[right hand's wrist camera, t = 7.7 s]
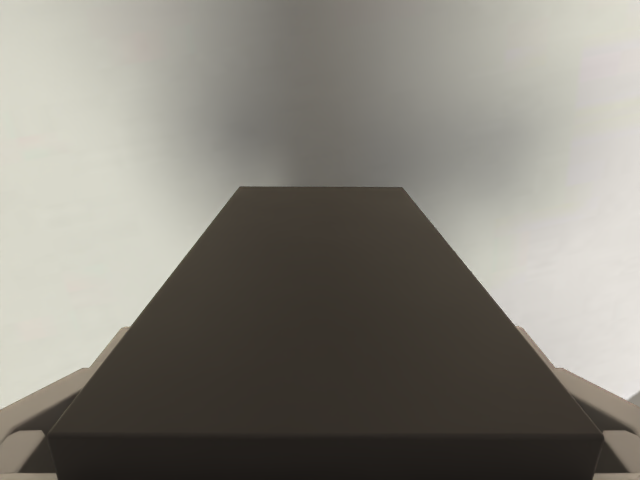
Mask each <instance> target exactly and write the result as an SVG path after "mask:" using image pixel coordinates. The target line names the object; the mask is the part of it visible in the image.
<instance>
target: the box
mask: <svg viewBox="0 0 640 480" xmlns="http://www.w3.org/2000/svg"><path fill="white" fill-rule="evenodd" d="M46 439H47V443H48V446H49V450H50V453H51V457H52V461H53V464H54V468H55V472H56V475H57V479H58V480H593V477H594V473H595V470H596V467H597V463H598V460H599V457H600V453H601V450H602V447H603V443H604V440H605V439H604V435H603V433H602V432H601V431H600V430H599V428H598V427H597V426H596V425H595V424H594V422H593V421H592V420H591V419H590V417H589V416H588V415H587V414H586V413H585V411H584V410H583V409H582V408H581V406H580V405H579V404H578V403H577V401H576V400H575V399H574V398H573V397H572V395H571V394H570V393H569V392H568V390H567V389H566V388H565V387H564V385H563V384H562V383H561V382H560V381H559V379H558V378H557V377H556V376H555V374H554V373H553V372H552V371H551V370H550V368H549V367H548V366H547V365H546V363H545V362H544V361H543V360H542V358H541V357H540V356H539V355H538V354H537V352H536V351H535V350H534V349H533V347H532V346H531V345H530V344H529V342H528V341H527V340H526V339H525V338H524V336H523V335H522V334H521V333H520V331H519V330H518V329H517V328H516V327H515V325H514V324H513V323H512V322H511V320H510V319H509V318H508V317H507V315H506V314H505V313H504V312H503V311H502V309H501V308H500V307H499V306H498V304H497V303H496V302H495V301H494V299H493V298H492V297H491V296H490V295H489V293H488V292H487V291H486V290H485V288H484V287H483V286H482V285H481V284H480V282H479V281H478V280H477V279H476V277H475V276H474V275H473V274H472V272H471V271H470V270H469V269H468V268H467V266H466V265H465V264H464V263H463V261H462V260H461V259H460V258H459V256H458V255H457V254H456V253H455V252H454V250H453V249H452V248H451V247H450V245H449V244H448V243H447V242H446V241H445V239H444V238H443V237H442V236H441V234H440V233H439V232H438V231H437V229H436V228H435V227H434V226H433V225H432V223H431V222H430V221H429V220H428V218H427V217H426V216H425V215H424V213H423V212H422V211H421V210H420V209H419V207H418V206H417V205H416V204H415V202H414V201H413V200H412V199H411V198H410V196H409V195H408V194H407V193H406V191H405V190H404V189H403V188H402V187H239V188H238V189H237V191H236V192H235V193H234V195H233V196H232V197H231V198H230V200H229V201H228V202H227V204H226V205H225V206H224V207H223V209H222V210H221V211H220V213H219V214H218V215H217V216H216V218H215V219H214V220H213V222H212V223H211V224H210V225H209V227H208V228H207V229H206V231H205V232H204V233H203V234H202V236H201V237H200V238H199V240H198V241H197V242H196V243H195V245H194V246H193V247H192V248H191V250H190V251H189V252H188V254H187V255H186V256H185V257H184V259H183V260H182V261H181V263H180V264H179V265H178V266H177V268H176V269H175V270H174V272H173V273H172V274H171V275H170V277H169V278H168V279H167V281H166V282H165V283H164V284H163V286H162V287H161V288H160V290H159V291H158V292H157V293H156V295H155V296H154V297H153V299H152V300H151V301H150V302H149V304H148V305H147V306H146V308H145V309H144V310H143V311H142V313H141V314H140V315H139V317H138V318H137V319H136V320H135V322H134V323H133V324H132V325H131V327H130V328H129V329H128V331H127V332H126V333H125V334H124V336H123V337H122V338H121V340H120V341H119V342H118V343H117V345H116V346H115V347H114V349H113V350H112V351H111V352H110V354H109V355H108V356H107V358H106V359H105V360H104V361H103V363H102V364H101V365H100V367H99V368H98V369H97V370H96V372H95V373H94V374H93V376H92V377H91V378H90V379H89V381H88V382H87V383H86V385H85V386H84V387H83V388H82V390H81V391H80V392H79V393H78V395H77V396H76V397H75V399H74V400H73V401H72V402H71V404H70V405H69V406H68V408H67V409H66V410H65V411H64V413H63V414H62V415H61V417H60V418H59V419H58V420H57V422H56V423H55V424H54V426H53V427H52V428H51V429H50V431H49V432H48V434H47V438H46Z"/></svg>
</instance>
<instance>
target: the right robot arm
mask: <svg viewBox="0 0 640 480" xmlns="http://www.w3.org/2000/svg"><path fill="white" fill-rule="evenodd" d="M515 327H516V328H517V329H518V330H519V331H520V333H521V334H522V335H523V336H524V338H525V339H526V340H527V341H528V342H529V344H530V345H531V346H532V347H533V349H534V350H535V351H536V352H537V354H538V355H539V356H540V357H541V358H542V360H543V361H544V362H545V363H546V365H547V366H548V367H549V368H550V370H551V371H552V372H553V373H554V374H555V376H556V377H557V378H558V379H559V381H560V382H561V383H562V384H563V385H564V387H565V388H566V389H567V390H568V392H569V393H570V394H571V395H572V397H573V398H574V399H575V400H576V401H577V403H578V404H579V405H580V406H581V408H582V409H583V410H584V411H585V413H586V414H587V415H588V416H589V417H590V419H591V420H592V421H593V422H594V424H595V425H596V426H597V427H598V428H599V430H600V431H601V432H602V433H603V435H604V439H605V440H604V443H603V447H602V450H601V453H600V457H599V460H598V463H597V467H596V470H595V473H594V477H593V480H640V407H638V406H637V405H635V404H632V403H630V402H629V401H627V400H625V399H623V398H621V397H619V396H617V395H615V394H613V393H611V392H609V391H607V390H605V389H603V388H601V387H599V386H597V385H595V384H593V383H591V382H589V381H587V380H585V379H583V378H581V377H579V376H577V375H575V374H573V373H571V372H569V371H567V370H565V369H563V368H555V367H554V366H553V364H552V363H551V362H550V361H549V359H548V358H547V357H546V356H545V355H544V353H543V352H542V351H541V350H540V348H539V347H538V346H537V345H536V344H535V342H534V341H533V340H532V339H531V338H530V336H529V335H528V334H527V333H526V331H525V330H524V329H523V328H521V327H519V326H515ZM129 328H130V327H123V328H121V329H120V330H119V331H118V333H117V334H116V335H115V336H114V338H113V339H112V340H111V341H110V343H109V344H108V345H107V346H106V348H105V349H104V350H103V351H102V353H101V354H100V355H99V356H98V358H97V359H96V360H95V361H94V363H93V364H92V365H91V366H90V368H81V369H80V370H78V371H76V372H74V373H72V374H70V375H68V376H66V377H64V378H62V379H60V380H58V381H56V382H54V383H52V384H50V385H48V386H46V387H44V388H42V389H40V390H38V391H36V392H34V393H32V394H30V395H28V396H26V397H24V398H22V399H21V400H19V401H17V402H15V403H13V404H11V405H9V406H7V407H5V408H3V409H1V410H0V480H58V479H57V475H56V472H55V468H54V464H53V461H52V457H51V453H50V450H49V446H48V443H47V439H46V438H47V434H48V432H49V431H50V429H51V428H52V427H53V426H54V424H55V423H56V422H57V420H58V419H59V418H60V417H61V415H62V414H63V413H64V411H65V410H66V409H67V408H68V406H69V405H70V404H71V402H72V401H73V400H74V399H75V397H76V396H77V395H78V393H79V392H80V391H81V390H82V388H83V387H84V386H85V385H86V383H87V382H88V381H89V379H90V378H91V377H92V376H93V374H94V373H95V372H96V370H97V369H98V368H99V367H100V365H101V364H102V363H103V361H104V360H105V359H106V358H107V356H108V355H109V354H110V352H111V351H112V350H113V349H114V347H115V346H116V345H117V343H118V342H119V341H120V340H121V338H122V337H123V336H124V334H125V333H126V332H127V331H128V329H129Z"/></svg>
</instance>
